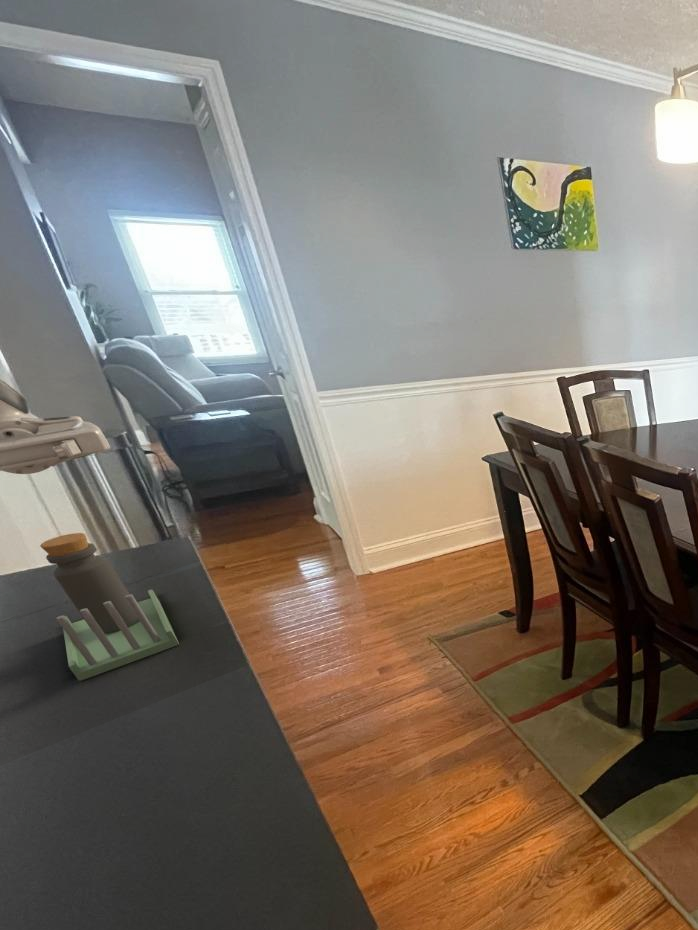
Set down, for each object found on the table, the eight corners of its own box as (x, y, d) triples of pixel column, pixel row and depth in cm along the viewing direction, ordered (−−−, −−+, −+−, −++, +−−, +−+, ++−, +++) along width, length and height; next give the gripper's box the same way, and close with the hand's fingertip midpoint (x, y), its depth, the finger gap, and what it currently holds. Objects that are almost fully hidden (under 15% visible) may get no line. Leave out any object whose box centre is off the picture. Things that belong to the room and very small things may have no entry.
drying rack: (79, 681, 83) (39, 627, 79) (70, 631, 95) (35, 581, 91) (179, 644, 91) (148, 593, 86) (159, 602, 103) (131, 555, 98)
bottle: (83, 632, 93) (23, 547, 85) (125, 612, 98) (72, 529, 90) (110, 636, 91) (52, 549, 84) (152, 615, 96) (100, 532, 89)
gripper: (-95, 443, 90) (-106, 459, 82) (91, 413, 103) (98, 425, 95) (-66, 482, 93) (-74, 502, 85) (111, 448, 106) (120, 462, 98)
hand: (19, 461), depth 90 cm, fingers open, 8 cm apart
